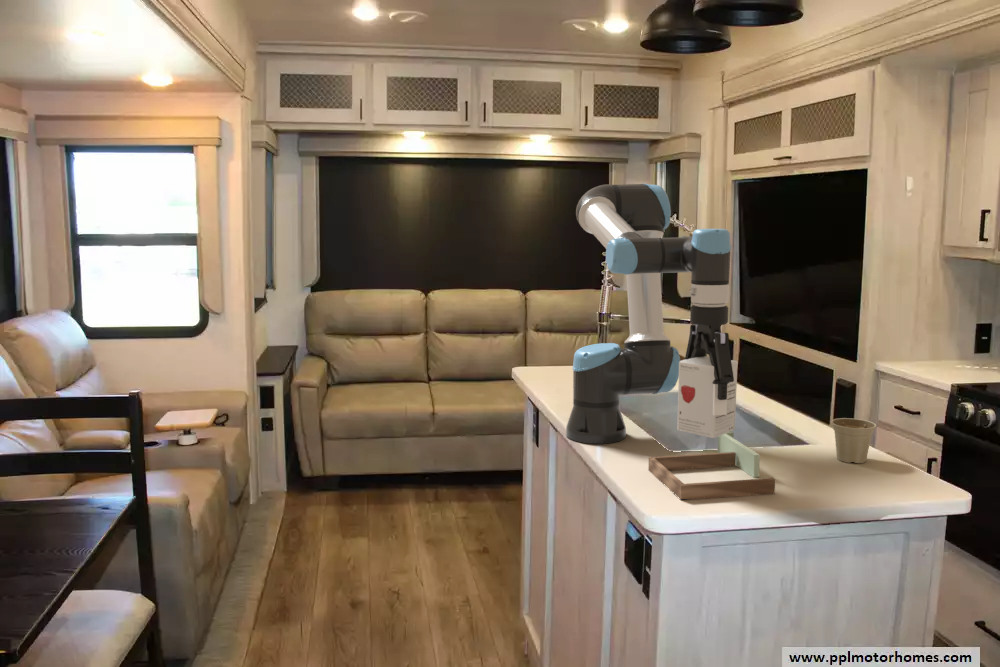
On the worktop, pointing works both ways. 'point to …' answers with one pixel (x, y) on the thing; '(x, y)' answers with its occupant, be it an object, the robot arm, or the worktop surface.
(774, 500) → the worktop surface
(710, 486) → the housing
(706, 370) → the supplement box
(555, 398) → the worktop surface
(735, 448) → the green piece
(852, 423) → the flower pot
